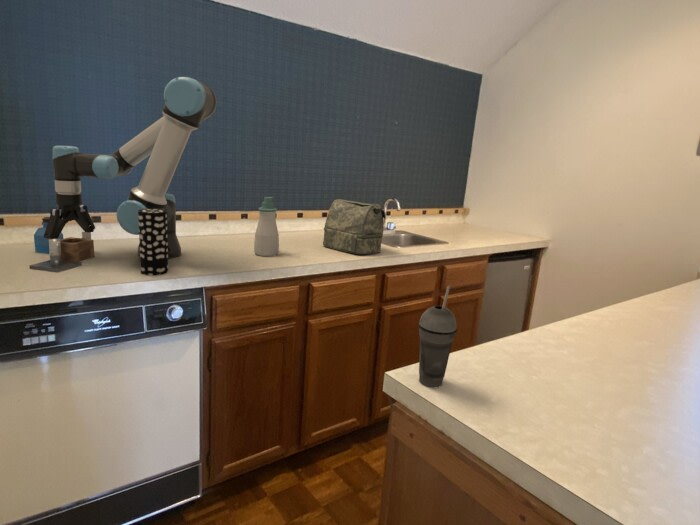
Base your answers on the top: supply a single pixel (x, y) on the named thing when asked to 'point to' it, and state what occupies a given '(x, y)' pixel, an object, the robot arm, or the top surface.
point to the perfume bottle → (39, 239)
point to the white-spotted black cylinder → (153, 241)
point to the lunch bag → (354, 227)
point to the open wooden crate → (76, 248)
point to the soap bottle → (267, 230)
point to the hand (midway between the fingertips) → (72, 254)
